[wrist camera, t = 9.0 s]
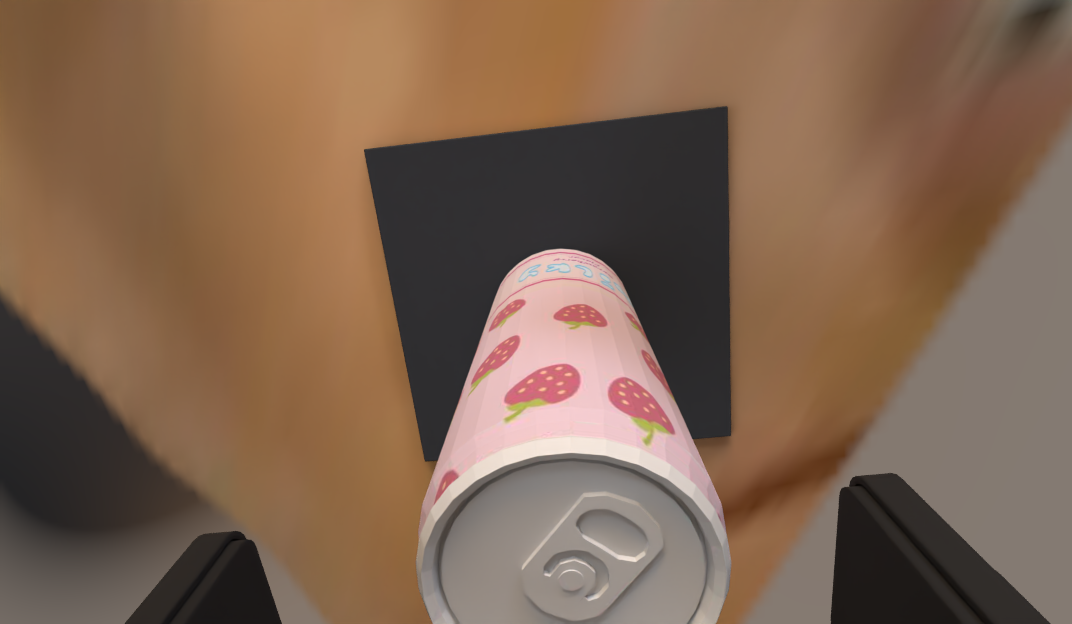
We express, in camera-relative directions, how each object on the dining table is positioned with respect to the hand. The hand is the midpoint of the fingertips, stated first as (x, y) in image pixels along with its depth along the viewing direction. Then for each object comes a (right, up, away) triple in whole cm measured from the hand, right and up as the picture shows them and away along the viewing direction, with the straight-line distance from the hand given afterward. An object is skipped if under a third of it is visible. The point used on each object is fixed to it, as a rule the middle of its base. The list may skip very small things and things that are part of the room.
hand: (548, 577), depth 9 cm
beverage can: (+1, +4, +15) cm, 15 cm away
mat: (+1, +5, +15) cm, 16 cm away
